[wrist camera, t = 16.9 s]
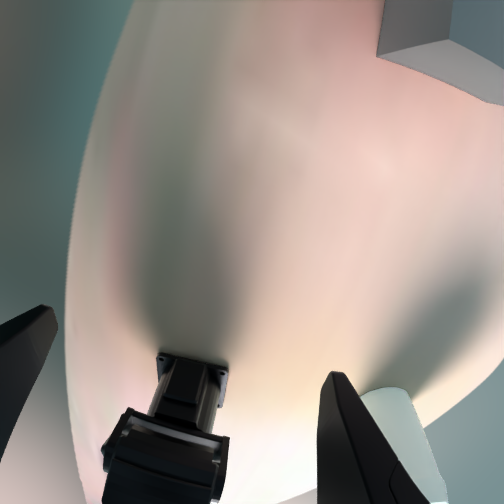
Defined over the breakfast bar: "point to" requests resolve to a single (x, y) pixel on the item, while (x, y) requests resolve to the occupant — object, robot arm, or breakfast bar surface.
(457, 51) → the matte grey cube
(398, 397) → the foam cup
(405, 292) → the breakfast bar surface
